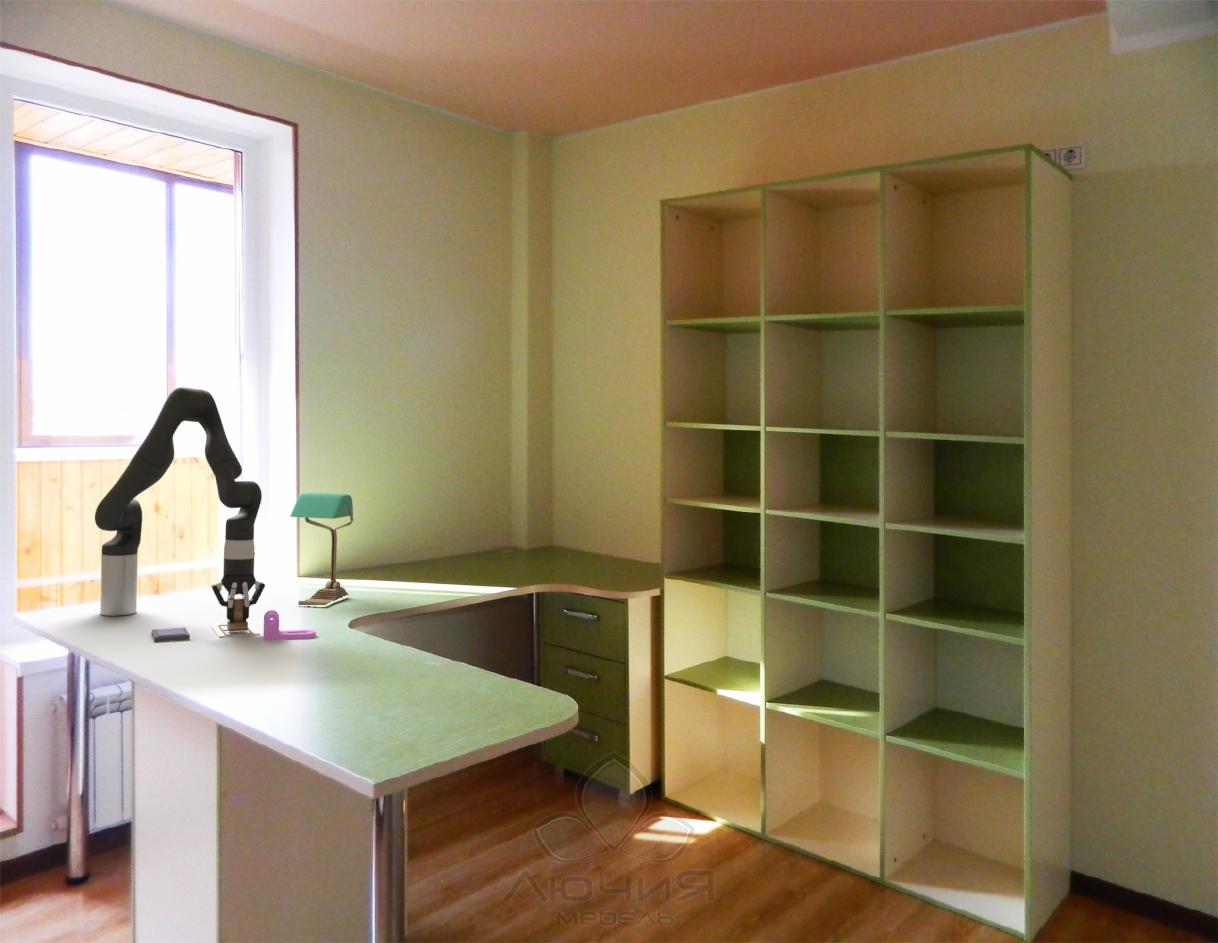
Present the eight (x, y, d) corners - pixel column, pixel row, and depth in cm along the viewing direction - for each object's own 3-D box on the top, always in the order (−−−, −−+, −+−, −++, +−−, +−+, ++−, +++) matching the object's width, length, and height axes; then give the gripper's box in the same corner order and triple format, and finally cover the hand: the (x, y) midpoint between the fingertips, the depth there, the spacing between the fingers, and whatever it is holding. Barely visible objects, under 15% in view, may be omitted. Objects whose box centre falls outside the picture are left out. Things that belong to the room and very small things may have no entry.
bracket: (263, 640, 237) (264, 614, 236) (263, 636, 242) (264, 610, 242) (316, 638, 241) (316, 612, 241) (315, 634, 246) (315, 608, 246)
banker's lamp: (359, 598, 303) (362, 493, 303) (334, 609, 283) (337, 496, 282) (313, 596, 305) (316, 491, 304) (285, 606, 284) (288, 494, 283)
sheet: (211, 627, 250) (211, 625, 250) (250, 624, 255) (250, 623, 255) (219, 637, 238) (219, 635, 238) (259, 634, 243) (259, 632, 243)
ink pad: (151, 634, 239) (151, 628, 239) (185, 632, 243) (185, 626, 243) (154, 641, 230) (155, 636, 230) (189, 639, 234) (189, 634, 234)
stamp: (227, 628, 244) (228, 598, 244) (245, 627, 246) (246, 597, 246) (229, 631, 240) (230, 601, 240) (247, 630, 243) (248, 600, 242)
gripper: (264, 553, 250) (262, 616, 250) (208, 555, 243) (207, 620, 243) (269, 557, 243) (267, 621, 244) (212, 558, 236) (211, 625, 237)
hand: (237, 620), depth 243 cm, fingers closed on stamp, 2 cm apart
